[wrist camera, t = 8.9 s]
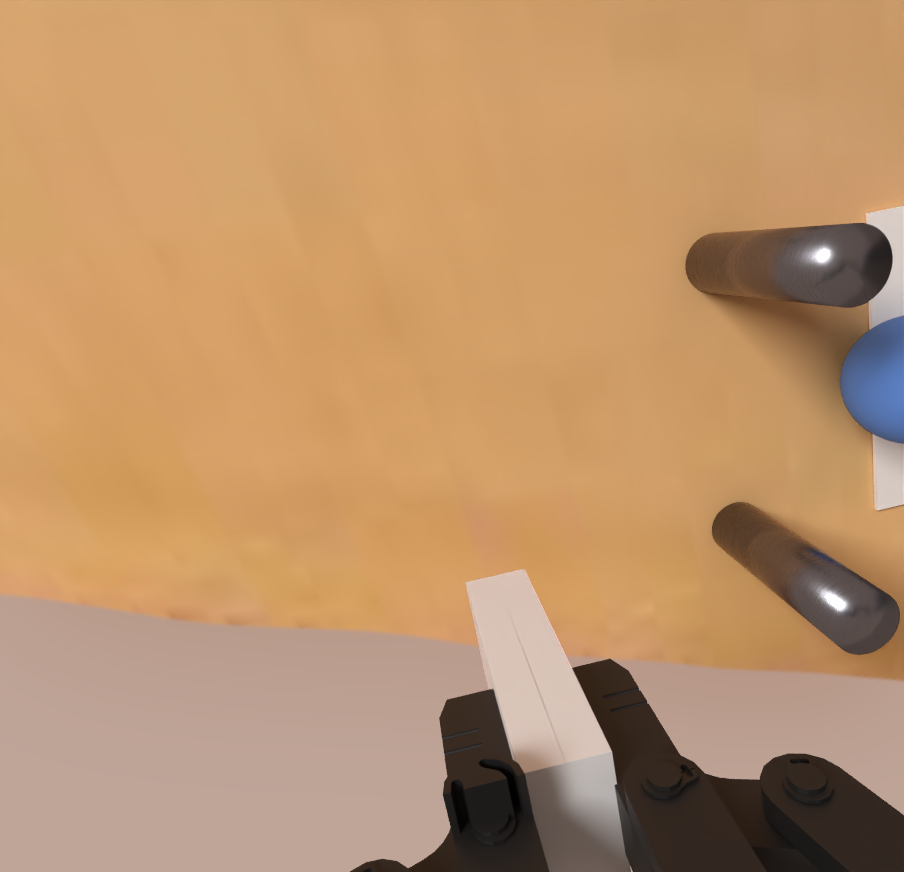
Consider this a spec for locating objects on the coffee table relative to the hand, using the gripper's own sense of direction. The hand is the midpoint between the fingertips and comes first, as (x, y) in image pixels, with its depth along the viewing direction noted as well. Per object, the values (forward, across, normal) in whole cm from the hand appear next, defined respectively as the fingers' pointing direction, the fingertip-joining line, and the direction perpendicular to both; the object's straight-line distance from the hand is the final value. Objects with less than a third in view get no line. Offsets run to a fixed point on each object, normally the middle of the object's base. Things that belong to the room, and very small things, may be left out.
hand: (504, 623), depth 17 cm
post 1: (+14, -13, -6) cm, 20 cm away
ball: (+11, -20, 0) cm, 23 cm away
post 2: (+14, -13, +6) cm, 20 cm away
